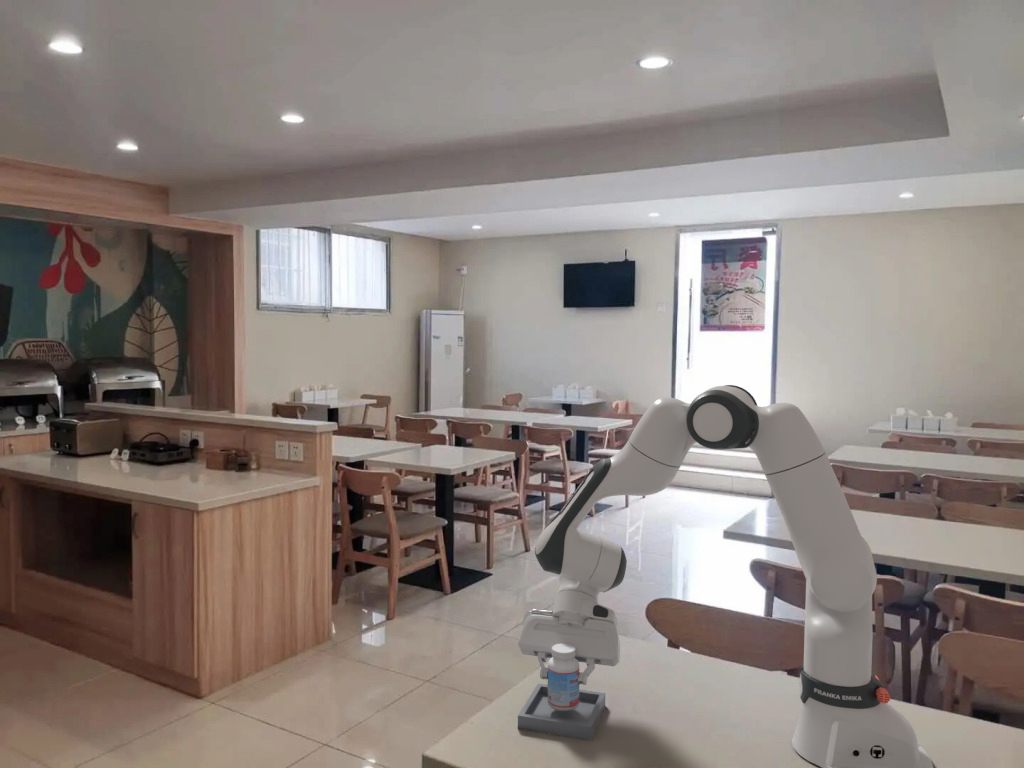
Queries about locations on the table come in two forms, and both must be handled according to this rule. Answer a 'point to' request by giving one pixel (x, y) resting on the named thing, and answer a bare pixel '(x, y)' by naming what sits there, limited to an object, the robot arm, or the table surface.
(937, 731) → the table surface
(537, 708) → the tray
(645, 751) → the table surface
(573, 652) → the pill bottle
